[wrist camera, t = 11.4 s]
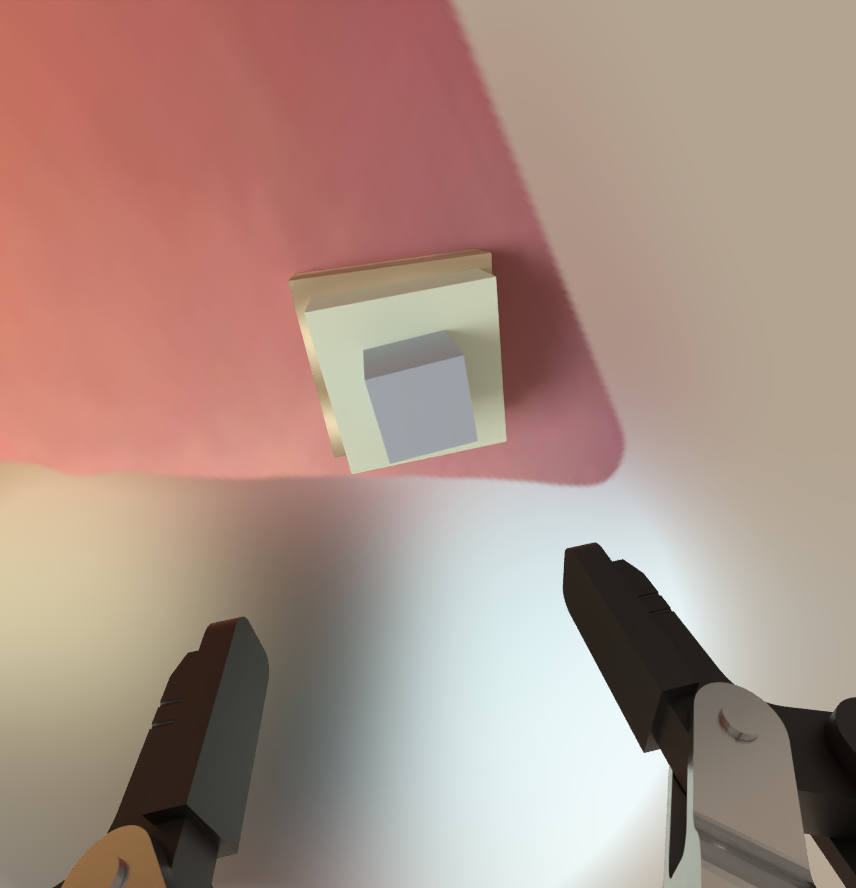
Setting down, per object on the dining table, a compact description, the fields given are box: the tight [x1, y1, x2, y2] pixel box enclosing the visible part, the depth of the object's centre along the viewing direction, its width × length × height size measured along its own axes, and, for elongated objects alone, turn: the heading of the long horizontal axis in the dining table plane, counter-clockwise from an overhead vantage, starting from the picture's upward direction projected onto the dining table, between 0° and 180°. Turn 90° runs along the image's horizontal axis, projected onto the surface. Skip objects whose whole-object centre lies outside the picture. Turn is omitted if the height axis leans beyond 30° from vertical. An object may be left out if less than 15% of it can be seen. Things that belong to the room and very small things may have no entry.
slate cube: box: [363, 330, 478, 464], centre depth 24 cm, size 5×5×5 cm
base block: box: [288, 249, 492, 457], centre depth 31 cm, size 13×13×4 cm
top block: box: [304, 268, 506, 474], centre depth 28 cm, size 11×11×4 cm
